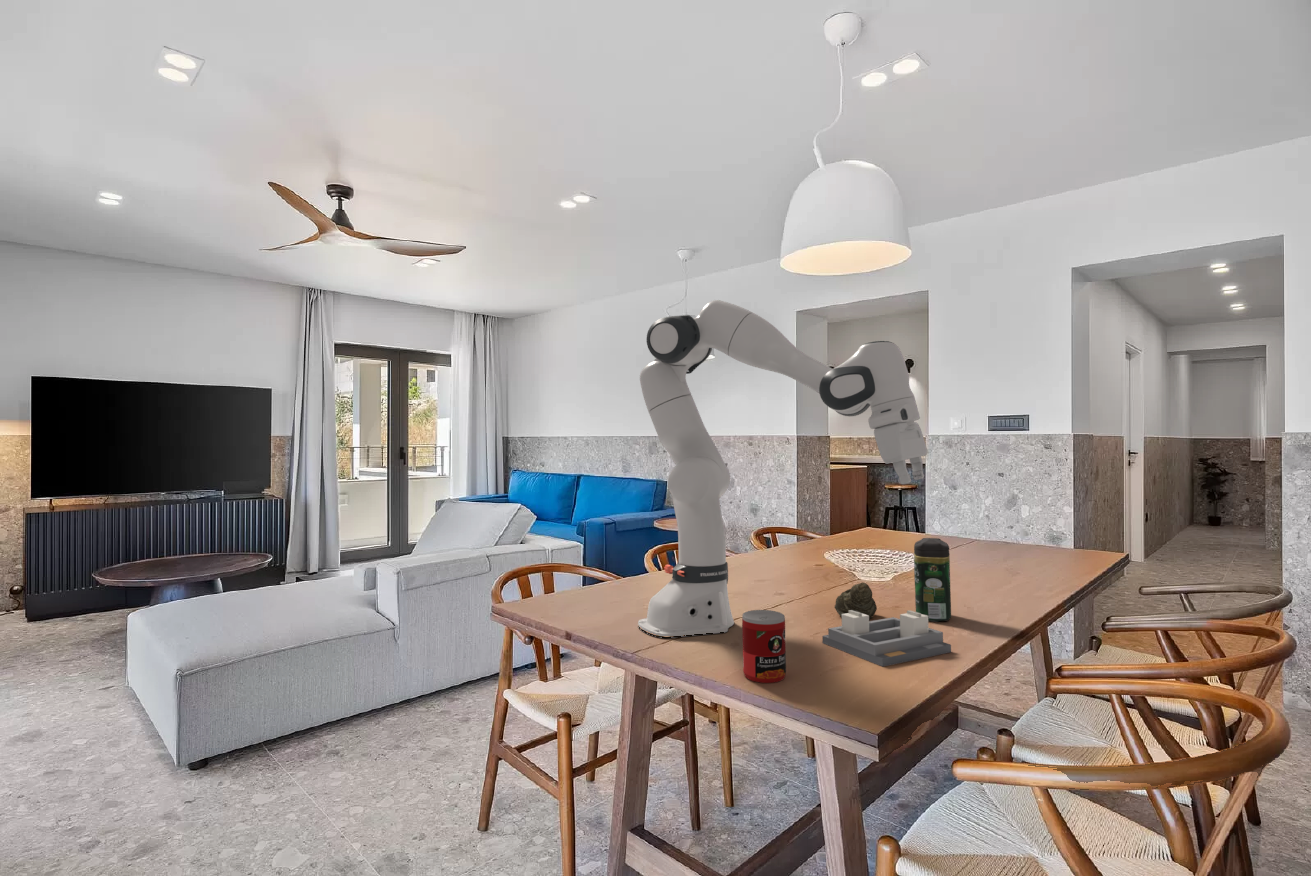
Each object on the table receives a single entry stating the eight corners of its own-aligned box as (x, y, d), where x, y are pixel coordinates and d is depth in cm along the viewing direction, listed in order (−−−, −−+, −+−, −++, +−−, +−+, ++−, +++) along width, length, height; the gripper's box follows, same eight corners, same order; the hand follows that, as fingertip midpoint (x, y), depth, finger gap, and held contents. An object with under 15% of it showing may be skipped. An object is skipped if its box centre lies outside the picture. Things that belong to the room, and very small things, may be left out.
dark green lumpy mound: (832, 597, 155) (878, 598, 153) (831, 562, 165) (874, 562, 163) (834, 631, 161) (878, 632, 159) (832, 595, 171) (874, 596, 168)
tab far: (854, 643, 135) (853, 615, 135) (842, 638, 138) (841, 611, 138) (869, 640, 137) (868, 612, 137) (856, 635, 140) (856, 608, 140)
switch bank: (882, 666, 125) (882, 647, 125) (822, 642, 141) (822, 626, 141) (951, 652, 133) (950, 634, 133) (887, 631, 148) (886, 615, 148)
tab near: (914, 643, 134) (913, 615, 134) (900, 638, 137) (899, 611, 137) (928, 640, 136) (928, 612, 136) (914, 636, 139) (914, 609, 139)
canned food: (758, 686, 116) (757, 622, 116) (734, 672, 124) (733, 612, 124) (795, 679, 119) (794, 617, 119) (770, 666, 127) (769, 607, 127)
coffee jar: (915, 611, 165) (913, 535, 165) (950, 613, 162) (948, 536, 163) (914, 621, 156) (913, 541, 156) (952, 623, 153) (950, 542, 154)
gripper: (896, 419, 150) (912, 479, 148) (864, 420, 133) (882, 489, 132) (924, 411, 146) (941, 474, 144) (896, 412, 130) (914, 482, 128)
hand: (913, 481), depth 138 cm, fingers open, 8 cm apart
